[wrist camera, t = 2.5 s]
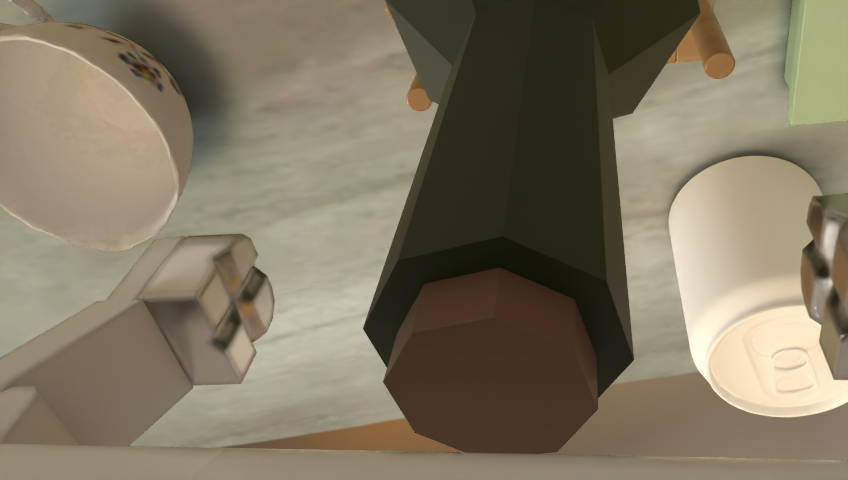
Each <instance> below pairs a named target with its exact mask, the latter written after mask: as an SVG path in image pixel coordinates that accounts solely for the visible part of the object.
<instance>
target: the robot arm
mask: <svg viewBox="0 0 848 480" xmlns="http://www.w3.org/2000/svg"><path fill="white" fill-rule="evenodd" d="M806 223H807V225H808V228H809V230H810V232H811V234H812V237H813V240H812V241H811V242H810V243H809V244H808V245H807V246H806V247H805V248H803V249H802V258H801V268H800V273H801V290H802V295H803V299H804V304H805V306H806V309H807V312H808V315H809V317H810V318H811V319H813V320H814V321H816V322H817V323H819V324H820V325H821V331H820V337H819V344H820V346H821V349H822V351H823V354H824V356H825V359H826V361H827V364H828V366H829V369H830V371H831V374H832V376H833V379H834V380H848V193H843V194H831V195H819V196H813V197H812V199H811V202H810V204H809V208H808V214H807V221H806ZM257 256H258V253H257V251H256V249H255V247H254V245H253V243H252V241H251V239H250V238H249V237H247V236H245V235H243V234H223V235H201V236H188V237H185V236H180V237H167V238H161V239H158V240H154V241H153V242H152V243H151V245H150V246H149V247H148V248H147V250H146V251H145V252H144V253H143V255H142V256H141V257H140V258H139V260H138V261H137V262H136V263H135V265H134V266H133V267H132V268H131V270H130V271H129V272H128V273H127V275H126V276H125V277H124V278H123V280H122V281H121V282H120V283H119V284H118V286H117V287H116V288H115V289H114V291H113V292H112V293H111V294H110V296H109V297H108V298H107V299H106V301H97V302H95V303H93V304H92V305H90V306H88V307H87V308H85V309H83V310H82V311H80V312H78V313H76V314H75V315H73V316H71V317H70V318H68V319H66V320H64V321H63V322H61V323H59V324H58V325H56V326H54V327H53V328H51V329H49V330H47V331H46V332H44V333H42V334H41V335H39V336H37V337H36V338H34V339H32V340H30V341H29V342H27V343H25V344H24V345H22V346H20V347H18V348H17V349H15V350H13V351H12V352H10V353H8V354H7V355H5V356H3V357H1V358H0V480H848V460H801V459H800V460H799V459H794V460H793V459H750V458H705V457H704V458H703V457H702V458H701V457H657V456H611V455H566V454H564V455H563V454H517V453H462V452H409V451H406V452H405V451H354V450H300V449H250V448H249V449H248V448H247V449H246V448H199V447H148V446H130V445H131V444H132V443H133V442H134V441H135V440H136V439H137V438H139V437H140V436H141V435H142V434H143V433H144V432H145V431H146V430H147V429H148V428H150V427H151V426H152V425H153V424H154V423H155V422H156V421H157V420H158V419H159V418H161V417H162V416H163V415H164V414H165V413H166V412H167V411H168V410H169V409H170V408H172V407H173V406H174V405H175V404H176V403H177V402H178V401H179V400H180V399H182V398H183V397H184V396H185V395H186V394H187V393H188V392H189V391H190V390H191V389H193V387H192V386H193V385H221V384H241V383H242V381H243V379H244V377H245V375H246V373H247V371H248V369H249V367H250V365H251V363H252V361H253V359H254V357H255V355H256V353H257V352H256V350H255V347H254V345H253V342H254V341H256V340H257V339H258V338H260V337H261V336H262V335H264V334H265V333H266V332H267V330H268V328H269V326H270V324H271V321H272V319H273V311H274V303H275V302H274V296H273V290H272V286H271V284H270V282H269V279H268V277H267V276H266V275H265V274H264V273H263V272H261V271H260V270H259V269H258V268H256V267H255V266H254V265H255V262H256V259H257Z"/></svg>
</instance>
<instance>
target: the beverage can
mask: <svg viewBox="0 0 848 480" xmlns="http://www.w3.org/2000/svg"><path fill="white" fill-rule="evenodd" d="M819 195H823V194H822V192H821V191H820V189H819V187H818V185H817V183H816V182H815V180H814V179H813V178H812V177H811V176H810V175H809V174H808V173H807V172H806V171H805V170H803V169H802V168H800V167H799V166H797V165H795V164H793V163H791V162H788V161H786V160H783V159H779V158H775V157H768V156H744V157H738V158H733V159H729V160H725V161H722V162H720V163H717V164H715V165H712V166H710V167H708V168H707V169H705V170H703V171H702V172H700V173H698V174H697V175H696V176H694V177H693V178H692V179H691V180H690V181H689V182H687V183H686V185H685V186H684V187H683V188H682V189H681V190H680V192H679V193H678V195H677V196H676V198H675V200H674V202H673V204H672V207H671V210H670V214H669V232H670V237H671V243H672V249H673V254H674V260H675V266H676V271H677V277H678V283H679V288H680V294H681V299H682V305H683V311H684V316H685V322H686V328H687V333H688V339H689V345H690V350H691V355H692V358H693V360H694V363H695V365H696V367H697V368H698V370H699V371H700V372H701V374H702V375H703V376H704V378H706V380H707V381H708V382H709V383H710V385H711V387H712V388H713V389H714V391H715V392H716V393H717V394H718V395H719V396H720V397H721V398H723V399H724V400H725V401H726V402H728V403H730V404H731V405H733V406H735V407H737V408H739V409H742V410H745V411H748V412H751V413H755V414H759V415H764V416H773V417H797V416H806V415H811V414H816V413H820V412H824V411H827V410H830V409H833V408H836V407H838V406H841V405H843V404H845V403H847V402H848V380H834V379H833V376H832V374H831V371H830V369H829V366H828V364H827V361H826V359H825V356H824V354H823V351H822V349H821V346H820V344H819V337H820V331H821V325H820V324H819V323H817V322H816V321H814V320H813V319H811V318H810V317H809V315H808V312H807V309H806V306H805V304H804V299H803V295H802V290H801V273H800V268H801V258H802V249H803V248H805V247H806V246H807V245H808V244H809V243H810V242H811V241H812V240H813V237H812V234H811V232H810V230H809V228H808V225H807V223H806V221H807V214H808V208H809V204H810V202H811V199H812V197H813V196H819Z"/></svg>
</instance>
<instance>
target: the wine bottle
mask: <svg viewBox="0 0 848 480" xmlns="http://www.w3.org/2000/svg"><path fill="white" fill-rule="evenodd" d="M385 1H386V4H387V6H388V8H389V11H390V13H391V15H392V17H393V20H394V22H395V24H396V26H397V29H398V31H399V33H400V35H401V38H402V40H403V42H404V44H405V47H406V49H407V51H408V54H409V56H410V58H411V60H412V63H413V65H414V67H415V69H416V72H417V74H418V76H419V78H420V81H421V83H422V85H423V87H424V90H425V92H426V94H427V97H428V99H429V100H431V101H433V102H435V103H437V104H439V106H438V109H437V112H436V115H435V118H434V121H433V124H432V127H431V130H430V133H429V136H428V139H427V142H426V144H425V147H424V150H423V153H422V156H421V159H420V162H419V165H418V168H417V171H416V174H415V177H414V180H413V183H412V186H411V189H410V192H409V195H408V198H407V200H406V203H405V206H404V209H403V212H402V215H401V218H400V221H399V224H398V227H397V230H396V233H395V236H394V239H393V242H392V245H391V248H390V251H389V254H388V257H387V259H386V262H385V265H384V268H383V271H382V274H381V277H380V280H379V283H378V286H377V289H376V292H375V295H374V298H373V301H372V304H371V307H370V310H369V313H368V316H367V318H366V321H365V324H364V327H363V329H364V331H365V333H366V334H367V336H368V338H369V339H370V341H371V342H372V344H373V346H374V347H375V349H376V351H377V352H378V354H379V355H380V357H381V359H382V360H383V362H384V364H385V365H386V367H387V371H386V374H385V378H384V381H383V383H384V384H385V386H386V387H387V389H388V391H389V392H390V394H391V395H392V397H393V398H394V400H395V402H396V403H397V405H398V406H399V408H400V410H401V411H402V413H403V414H404V416H405V417H406V419H407V421H408V422H409V424H410V425H411V427H412V429H413V430H414V432H415V433H417V434H420V435H423V436H425V437H428V438H430V439H433V440H435V441H438V442H440V443H443V444H445V445H448V446H450V447H453V448H455V449H458V450H461V451H463V452H465V453H517V454H542V453H552V452H557V451H559V449H560V448H561V447H562V446H563V445H564V444H565V443H566V442H567V441H568V440H569V439H570V438H571V437H572V436H573V435H574V434H575V433H576V432H577V431H578V430H579V428H581V426H582V425H583V424H584V423H585V422H586V421H587V420H588V419H589V418H590V417H591V416H592V415H593V414H594V413H595V412H596V411H597V410H598V397H600V395H601V394H602V393H603V392H604V391H605V390H606V389H607V388H608V387H609V386H610V385H611V384H612V383H613V382H614V381H615V380H616V379H617V377H618V376H619V375H620V374H621V373H622V372H623V371H624V370H625V369H626V368H627V367H628V366H629V365H630V364H631V363H632V361H633V360H634V355H633V344H632V333H631V322H630V310H629V299H628V288H627V276H626V265H625V254H624V243H623V231H622V220H621V209H620V197H619V186H618V175H617V164H616V152H615V141H614V130H613V118H617V117H620V116H624V115H628V114H631V113H633V111H634V110H635V109H636V107H637V106H638V104H639V103H640V101H641V100H642V98H643V97H644V95H645V94H646V92H647V91H648V89H649V88H650V87H651V85H652V84H653V82H654V81H655V79H656V78H657V76H658V75H659V73H660V72H661V70H662V69H663V67H664V66H665V65H666V63H667V62H668V60H669V59H670V57H671V56H672V54H673V53H674V51H675V50H676V48H677V47H678V45H679V44H680V43H681V41H682V40H683V38H684V37H685V35H686V34H687V32H688V31H689V29H690V28H691V26H692V25H693V23H694V22H695V21H696V19H697V18H698V16H699V15H700V7H699V2H698V0H385Z"/></svg>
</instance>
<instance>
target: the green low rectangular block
mask: <svg viewBox="0 0 848 480" xmlns="http://www.w3.org/2000/svg"><path fill="white" fill-rule="evenodd" d="M784 79H785V81H786V83H787V85H788V87H789V88H790V96H789V105H788V114H787V119H788V121H789V123H790V125H803V124H815V123H826V122H837V121H848V0H792V7H791V16H790V26H789V35H788V44H787V54H786V63H785V72H784Z"/></svg>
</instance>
